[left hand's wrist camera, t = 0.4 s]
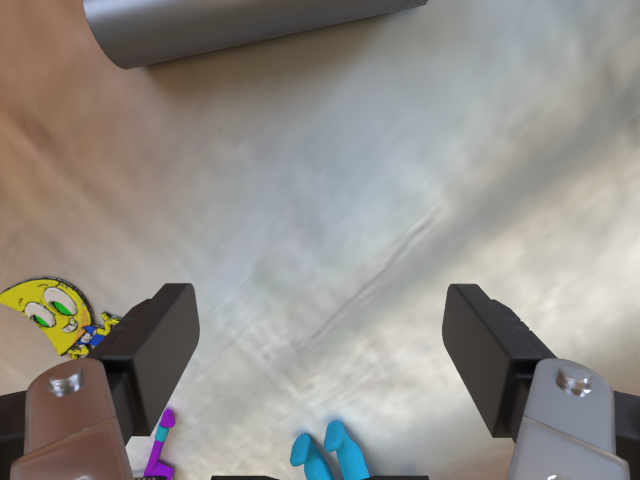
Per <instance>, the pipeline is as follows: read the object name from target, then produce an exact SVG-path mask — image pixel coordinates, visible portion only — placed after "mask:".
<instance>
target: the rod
mask: <svg viewBox="0 0 640 480" xmlns="http://www.w3.org/2000/svg"><path fill="white" fill-rule="evenodd" d="M427 2H428V0H83V7H84V11H85V15H86V18H87V21H88V24H89V26H90V28H91V31H92V33H93V35H94V37H95V39H96V40H97V42H98V44H99V45H100V47H101V49H102V50H103V51H104V53H105V54H106V55H107V57H108V58H109V59H110V60H111V61H112V62H113V63H114V64H115V65H117V66H118V67H120V68H122V69H125V70H127V69H132V68H137V67H141V66H146V65H150V64H155V63H160V62H164V61H169V60H173V59H178V58H183V57H187V56H192V55H197V54H201V53H206V52H210V51H215V50H220V49H224V48H229V47H233V46H238V45H243V44H247V43H252V42H257V41H261V40H266V39H270V38H275V37H280V36H284V35H289V34H293V33H298V32H303V31H307V30H312V29H317V28H321V27H326V26H330V25H335V24H340V23H344V22H349V21H353V20H358V19H363V18H367V17H372V16H377V15H381V14H386V13H390V12H395V11H400V10H404V9H409V8H414V7H418V6H423V5H425V4H426V3H427Z"/></svg>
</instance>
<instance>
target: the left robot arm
mask: <svg viewBox="0 0 640 480" xmlns="http://www.w3.org/2000/svg"><path fill="white" fill-rule="evenodd" d="M199 334H200V326H199V318H198V311H197V304H196V297H195V290H194V287H193V285H192V284H191V283H166V284H164V285H163V287H162V288H161V289H160V290H159V291H158V292H157V293H156V294H155V296H154V297H153V298H152V299H146V300H145V301H143V302H141V303H140V304H138V305H136V306H134V307H133V308H132V309H131V310H130V311H129V312H128V313H127V314H126V315H125V316H124V317H123V318H122V321H119V322H118V323H117V324H116V325H115V327H114V329H113V330H111V331H110V332H109V333H108V334H107V335H106V336H105V337H104V338H103V339H102V340H101V341H100V342H99V343H98V344H97V346H96V347H95V348H94V349H93V350H92V351H91V352H90V353H89V354H88V355H87V356H86V357H85V358H81V359H75V360H71V361H67V362H64V363H61V364H59V365H57V366H54V367H52V368H51V369H49V370H47V371H45V372H44V373H42V374H41V375H40V376H38V377H37V378H36V379H35V380H34V381H33V382H32V383H31V384H30V386H29V387H28V389H27V390H25V391H21V392H16V393H11V394H7V395H2V396H0V480H134V478H133V474H132V471H131V467H130V463H129V459H128V456H127V452H126V448H125V447H126V445H127V443H128V441H129V440H130V438H131V436H150V435H151V433H152V431H153V430H154V428H155V426H156V424H157V422H158V420H159V418H160V416H161V414H162V412H163V410H164V408H165V406H166V405H167V403H168V401H169V399H170V397H171V395H172V393H173V391H174V389H175V387H176V385H177V383H178V381H179V380H180V378H181V376H182V374H183V372H184V370H185V368H186V366H187V364H188V362H189V360H190V358H191V356H192V355H193V353H194V351H195V349H196V347H197V344H198V341H199ZM442 337H443V342H444V345H445V348H446V350H447V352H448V353H449V355H450V357H451V359H452V361H453V363H454V365H455V367H456V369H457V371H458V372H459V374H460V376H461V378H462V380H463V382H464V384H465V386H466V388H467V390H468V391H469V393H470V395H471V397H472V399H473V401H474V403H475V405H476V407H477V409H478V410H479V412H480V414H481V416H482V418H483V420H484V422H485V424H486V426H487V428H488V429H489V431H490V433H491V435H492V437H493V438H512V439H513V441H514V443H515V448H514V452H513V456H512V459H511V463H510V467H509V471H508V474H507V478H506V480H640V396H635V395H631V394H626V393H621V392H617V391H613V389H612V387H611V386H610V384H609V383H608V382H607V381H606V380H605V379H604V378H603V377H602V376H600V375H599V374H598V373H596V372H595V371H593V370H591V369H589V368H588V367H586V366H583V365H581V364H579V363H576V362H573V361H569V360H565V359H559V358H557V357H556V356H555V355H554V354H553V353H552V352H551V351H550V350H549V349H548V348H547V347H546V346H545V344H544V343H543V342H542V341H541V340H540V339H539V338H538V337H537V336H536V335H535V334H534V333H533V332H532V331H529V328H528V327H527V326H526V325H525V324H524V322H523V321H520V318H519V317H518V316H517V315H516V314H515V313H514V312H513V311H512V310H511V309H510V308H508V307H507V306H505V305H503V304H502V303H500V302H498V301H496V300H491V299H490V298H489V297H488V296H487V295H486V294H485V292H484V291H483V290H482V289H481V288H480V287H479V286H478V285H477V284H450V286H449V287H448V291H447V297H446V304H445V311H444V318H443V325H442ZM211 480H279V479H275V478H271V477H268V476H212V478H211ZM361 480H429V478H428V476H372V477H369V478H365V479H361Z"/></svg>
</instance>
